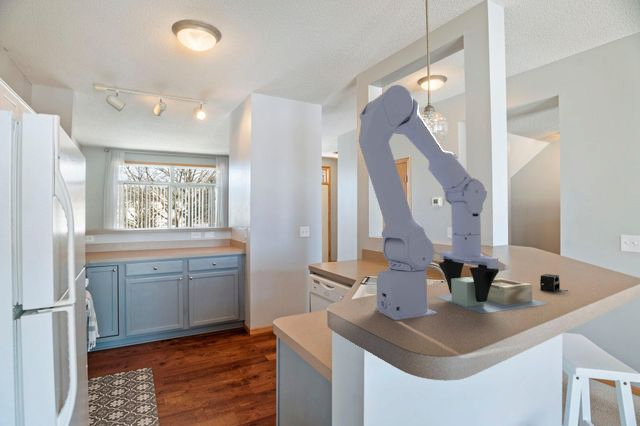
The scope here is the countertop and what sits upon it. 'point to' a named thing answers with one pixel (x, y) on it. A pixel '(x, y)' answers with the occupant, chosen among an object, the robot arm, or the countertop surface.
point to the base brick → (509, 291)
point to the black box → (550, 283)
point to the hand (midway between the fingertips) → (467, 297)
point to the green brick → (464, 291)
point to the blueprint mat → (494, 305)
